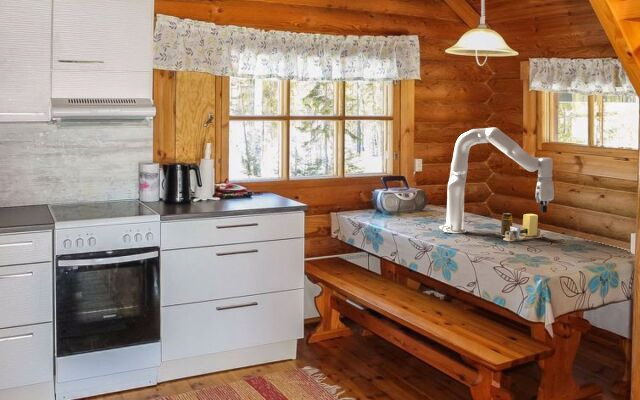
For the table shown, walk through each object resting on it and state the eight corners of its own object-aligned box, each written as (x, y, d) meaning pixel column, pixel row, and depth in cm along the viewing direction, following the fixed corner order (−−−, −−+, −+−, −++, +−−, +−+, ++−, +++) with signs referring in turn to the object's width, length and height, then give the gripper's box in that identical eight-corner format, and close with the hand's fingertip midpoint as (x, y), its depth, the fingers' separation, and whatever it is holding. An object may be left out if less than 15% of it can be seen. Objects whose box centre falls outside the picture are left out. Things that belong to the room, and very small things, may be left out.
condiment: (514, 234, 396) (516, 214, 394) (504, 236, 391) (505, 215, 389) (505, 232, 402) (506, 212, 400) (494, 234, 397) (495, 213, 395)
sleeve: (528, 236, 384) (530, 215, 383) (522, 234, 389) (523, 214, 387) (536, 235, 387) (538, 215, 385) (530, 233, 391) (531, 213, 390)
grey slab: (516, 239, 380) (517, 228, 379) (509, 237, 385) (510, 226, 384) (519, 238, 381) (520, 227, 380) (512, 237, 386) (513, 226, 385)
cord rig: (509, 241, 378) (509, 232, 377) (503, 239, 382) (503, 230, 382) (541, 237, 389) (542, 228, 388) (535, 235, 394) (535, 227, 393)
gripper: (540, 181, 380) (538, 214, 383) (559, 179, 387) (558, 212, 390) (529, 180, 387) (528, 212, 390) (549, 178, 394) (548, 210, 397)
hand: (543, 212), depth 390 cm, fingers closed
